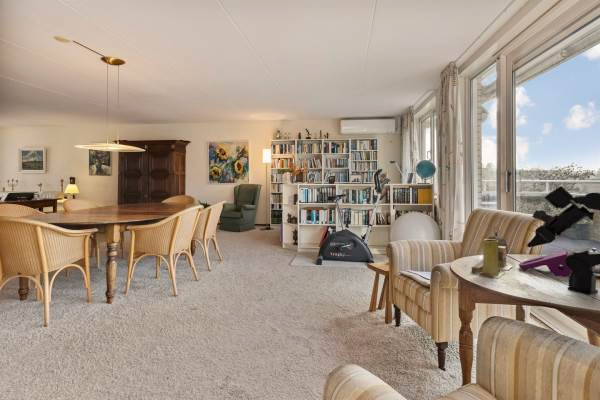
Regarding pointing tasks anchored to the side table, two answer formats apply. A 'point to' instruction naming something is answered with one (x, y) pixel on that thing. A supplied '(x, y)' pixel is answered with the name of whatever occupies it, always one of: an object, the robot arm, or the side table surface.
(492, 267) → the vase
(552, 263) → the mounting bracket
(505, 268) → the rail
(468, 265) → the side table surface
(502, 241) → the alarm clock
